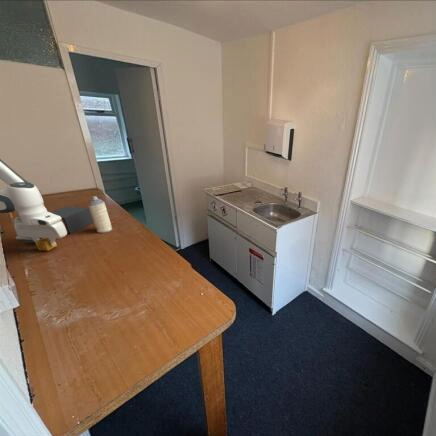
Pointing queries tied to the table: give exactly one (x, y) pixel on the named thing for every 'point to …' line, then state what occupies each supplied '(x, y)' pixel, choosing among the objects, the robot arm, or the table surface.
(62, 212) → the cabinet
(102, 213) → the aerosol can
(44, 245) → the block
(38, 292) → the table surface
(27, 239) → the drawer
